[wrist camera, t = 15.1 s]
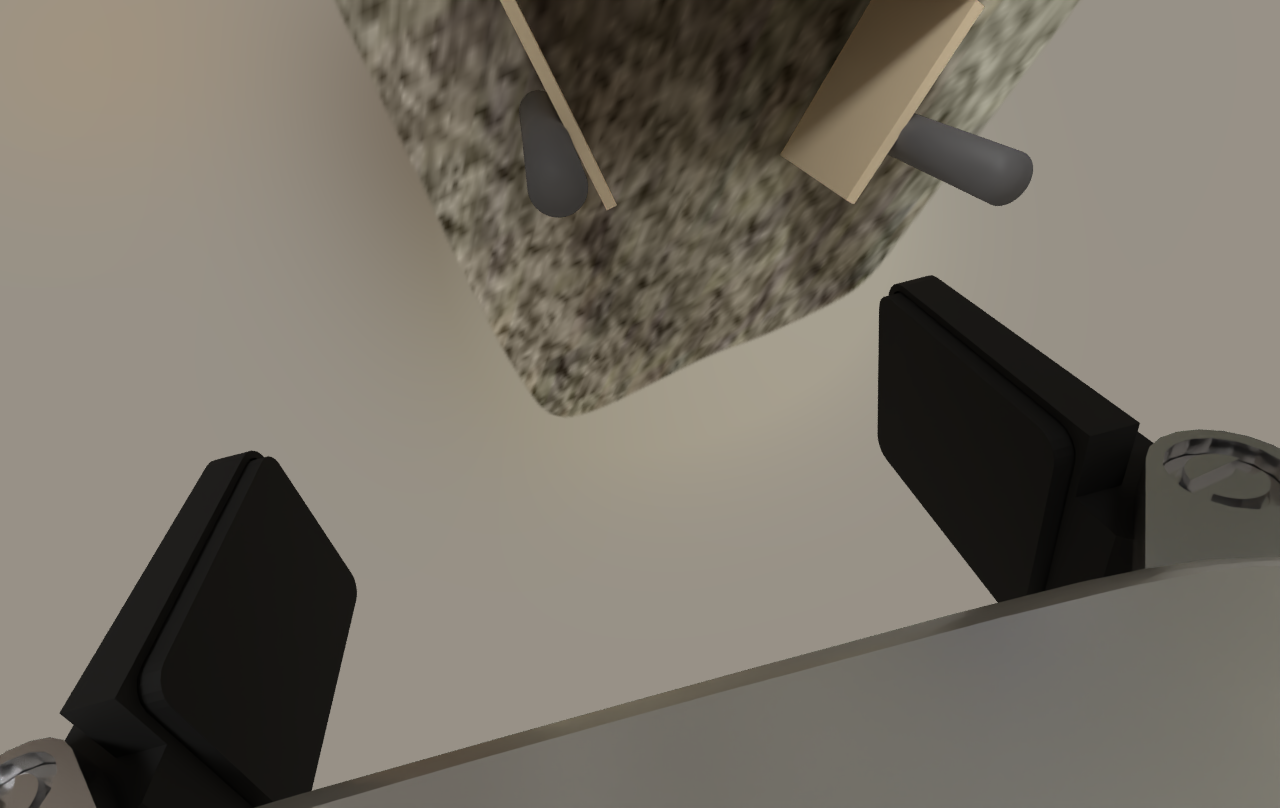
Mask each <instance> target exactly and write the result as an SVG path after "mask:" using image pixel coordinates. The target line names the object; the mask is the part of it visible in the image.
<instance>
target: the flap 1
mask: <svg viewBox="0 0 1280 808" xmlns="http://www.w3.org/2000/svg"><path fill="white" fill-rule="evenodd" d="M500 1H501V3H502V5H503V7H504V9H505V11H506V13H507V15H508V17H509V19H510V21H511V23H512V25H513V27H514V29H515V31H516V33H517V35H518V37H519V39H520V41H521V43H522V45H523V47H524V49H525V50H526V52H527V54H528V56H529V58H530V60H531V62H532V64H533V66H534V68H535V70H536V72H537V74H538V76H539V78H540V80H541V82H542V84H543V86H544V88H545V90H546V92H545V91H540V90H536V91H532V92H530V93H528V94H527V95H526V96H525V97H524V98H523V99H522V101H521V104H520V108H519V113H520V122H521V132H522V141H523V151H524V160H525V170H526V179H527V188H528V194H529V197H530V200H531V202H532V203H533V205H534V206H535V207H536V208H537V209H538V210H539V211H540V212H542V213H544V214H546V215H548V216H551V217H566V216H569V215H571V214H573V213H575V212H576V211H577V210H578V209H579V208H580V207H581V206H582V205H583V203H584V202H585V200H586V197H587V193H588V182H587V178H586V175H585V173H584V170H583V168H582V165H581V162H580V160H579V157H580V159H581V161H582V162H583V164H584V166H585V168H586V170H587V172H588V174H589V176H590V178H591V180H592V182H593V184H594V186H595V188H596V190H597V192H598V194H599V196H600V198H601V200H602V202H603V204H604V206H605V208H606V210H609V209H611V208H613V207H615V206H616V205H617V204H616V202H615V200H614V198H613V196H612V194H611V191H610V189H609V187H608V185H607V183H606V181H605V179H604V177H603V175H602V172H601V170H600V168H599V166H598V164H597V162H596V160H595V158H594V156H593V154H592V152H591V150H590V148H589V146H588V144H587V142H586V140H585V138H584V136H583V134H582V131H581V129H580V127H579V125H578V123H577V121H576V119H575V117H574V115H573V113H572V111H571V109H570V107H569V105H568V103H567V101H566V99H565V97H564V95H563V93H562V91H561V89H560V87H559V85H558V83H557V81H556V79H555V77H554V75H553V73H552V71H551V69H550V67H549V65H548V63H547V61H546V59H545V57H544V55H543V53H542V51H541V49H540V47H539V45H538V43H537V41H536V39H535V37H534V35H533V33H532V31H531V29H530V27H529V25H528V23H527V21H526V19H525V17H524V15H523V13H522V10H521V8H520V6H519V4H518V2H517V0H500ZM575 149H576V150H575ZM576 151H577V152H576ZM577 153H578V155H579V157H578V155H577Z"/></svg>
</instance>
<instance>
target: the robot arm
mask: <svg viewBox="0 0 1280 808" xmlns="http://www.w3.org/2000/svg"><path fill="white" fill-rule="evenodd" d="M878 366H879V367H878V368H879V369H878V441H879V445H880V448H881V451H882V453H883V455H884V456H885V457H886V459H887V461H888V462H889V463H890V464H891V466H892V467H893V468H894V470H895V471H896V472H897V473H898V475H899V476H900V477H901V479H902V480H903V481H904V482H905V484H906V485H907V486H908V487H909V489H910V490H911V491H912V493H913V494H914V495H915V496H916V498H917V499H918V500H919V502H920V503H921V504H922V506H923V507H924V508H925V509H926V511H927V512H928V513H929V515H930V516H931V517H932V518H933V520H934V521H935V522H936V524H937V525H938V526H939V527H940V529H941V530H942V531H943V532H944V534H945V535H946V536H947V538H948V539H949V540H950V542H951V543H952V544H953V545H954V547H955V548H956V549H957V551H958V552H959V553H960V554H961V556H962V557H963V558H964V560H965V561H966V562H967V563H968V565H969V566H970V567H971V568H972V570H973V571H974V572H975V574H976V575H977V576H978V577H979V579H980V580H981V582H982V583H983V584H984V585H985V587H986V588H987V589H988V590H989V592H990V593H991V594H992V595H993V597H994V598H995V599H996V601H997V602H998V603H995V604H992V605H988V606H984V607H980V608H976V609H972V610H968V611H964V612H960V613H956V614H952V615H948V616H945V617H941V618H937V619H934V620H930V621H926V622H923V623H919V624H915V625H912V626H908V627H904V628H900V629H896V630H893V631H889V632H886V633H881V634H878V635H874V636H870V637H867V638H863V639H859V640H856V641H852V642H849V643H845V644H841V645H837V646H833V647H830V648H826V649H822V650H818V651H815V652H811V653H807V654H804V655H800V656H797V657H793V658H789V659H785V660H782V661H778V662H774V663H770V664H767V665H763V666H759V667H756V668H752V669H748V670H745V671H741V672H738V673H734V674H730V675H726V676H723V677H719V678H716V679H712V680H708V681H705V682H701V683H697V684H694V685H690V686H686V687H683V688H679V689H675V690H672V691H668V692H664V693H661V694H657V695H654V696H650V697H646V698H643V699H639V700H635V701H632V702H628V703H624V704H621V705H617V706H614V707H610V708H607V709H603V710H599V711H595V712H592V713H589V714H585V715H581V716H577V717H574V718H570V719H567V720H563V721H560V722H556V723H552V724H548V725H546V726H541V727H538V728H534V729H530V730H527V731H523V732H520V733H516V734H512V735H509V736H505V737H502V738H498V739H495V740H491V741H487V742H484V743H480V744H477V745H473V746H470V747H466V748H463V749H459V750H455V751H452V752H448V753H445V754H441V755H438V756H434V757H430V758H427V759H423V760H420V761H416V762H413V763H409V764H406V765H402V766H399V767H395V768H391V769H388V770H385V771H381V772H377V773H374V774H370V775H366V776H363V777H360V778H356V779H353V780H349V781H345V782H342V783H338V784H335V785H331V786H327V787H324V788H320V789H317V790H314V791H312V787H313V782H314V777H315V773H316V769H317V765H318V760H319V757H320V752H321V748H322V744H323V739H324V735H325V730H326V726H327V722H328V718H329V714H330V709H331V705H332V701H333V696H334V692H335V688H336V684H337V680H338V675H339V671H340V667H341V662H342V658H343V653H344V650H345V645H346V641H347V637H348V633H349V628H350V624H351V619H352V615H353V611H354V607H355V603H356V597H357V589H356V583H355V580H354V577H353V575H352V574H351V572H350V571H349V569H348V568H347V566H346V564H345V563H344V562H343V560H342V558H341V557H340V556H339V554H338V552H337V551H336V549H335V548H334V546H333V545H332V543H331V542H330V540H329V539H328V537H327V536H326V534H325V533H324V531H323V530H322V528H321V527H320V525H319V524H318V522H317V521H316V519H315V517H314V516H313V515H312V513H311V511H310V510H309V508H308V507H307V505H306V504H305V502H304V501H303V499H302V498H301V496H300V495H299V493H298V492H297V490H296V489H295V487H294V486H293V484H292V483H291V481H290V480H289V478H288V477H287V475H286V474H285V472H284V471H283V469H282V468H281V466H280V464H279V463H278V462H277V461H276V460H275V459H274V458H272V457H263V456H262V455H261V454H260V453H258V452H256V451H248V452H245V453H241V454H237V455H233V456H229V457H225V458H221V459H218V460H214V461H211V462H210V463H209V464H208V465H207V467H206V468H205V470H204V472H203V473H202V475H201V477H200V478H199V480H198V482H197V483H196V485H195V487H194V489H193V490H192V492H191V494H190V495H189V497H188V498H187V500H186V502H185V504H184V505H183V507H182V508H181V510H180V512H179V514H178V515H177V517H176V519H175V520H174V522H173V524H172V525H171V527H170V529H169V530H168V532H167V534H166V535H165V537H164V539H163V540H162V542H161V544H160V545H159V547H158V549H157V550H156V552H155V554H154V555H153V557H152V559H151V561H150V562H149V564H148V566H147V567H146V569H145V571H144V572H143V574H142V576H141V577H140V579H139V581H138V582H137V584H136V586H135V587H134V589H133V591H132V592H131V594H130V596H129V597H128V599H127V601H126V603H125V604H124V606H123V607H122V609H121V611H120V613H119V614H118V616H117V618H116V619H115V621H114V623H113V624H112V626H111V628H110V630H109V631H108V633H107V634H106V636H105V638H104V639H103V641H102V643H101V645H100V646H99V648H98V649H97V651H96V653H95V655H94V656H93V658H92V660H91V661H90V663H89V665H88V666H87V668H86V670H85V671H84V673H83V675H82V676H81V678H80V680H79V681H78V683H77V685H76V686H75V688H74V690H73V691H72V693H71V695H70V696H69V698H68V700H67V701H66V703H65V705H64V706H63V708H62V710H61V712H60V714H61V715H62V716H64V717H65V718H66V719H67V720H69V721H70V722H71V723H72V724H74V726H73V727H72V729H71V731H70V733H69V734H68V736H67V738H66V740H65V741H64V740H61V739H56V738H50V737H49V738H43V739H38V740H33V741H29V742H27V743H24V744H22V745H20V746H18V747H15V748H13V749H11V750H8V751H6V752H5V753H3V754H2V755H0V808H1280V448H1277V447H1276V446H1274V445H1271V444H1269V443H1266V442H1263V441H1260V440H1258V439H1255V438H1252V437H1249V436H1245V435H1240V434H1235V433H1230V432H1225V431H1214V430H1190V431H1181V432H1175V433H1172V434H1169V435H1167V436H1164V437H1161V438H1159V439H1158V440H1157V441H1156V442H1155V443H1153V442H1151V441H1150V440H1148V439H1147V438H1146V437H1144V436H1143V435H1142V434H1140V433H1139V432H1138V428H1139V424H1140V423H1139V422H1138V421H1136V420H1135V419H1134V418H1132V417H1131V416H1129V415H1128V414H1127V413H1125V412H1124V411H1122V410H1121V409H1120V408H1118V407H1117V406H1115V405H1114V404H1113V403H1111V402H1110V401H1109V400H1107V399H1106V398H1104V397H1103V396H1102V395H1100V394H1099V393H1097V392H1096V391H1095V390H1093V389H1092V388H1090V387H1089V386H1088V385H1086V384H1085V383H1083V382H1082V381H1080V380H1079V379H1078V378H1076V377H1075V376H1073V375H1072V374H1071V373H1069V372H1068V371H1067V370H1065V369H1064V368H1062V367H1061V366H1060V365H1058V364H1057V363H1055V362H1054V361H1053V360H1051V359H1050V358H1049V357H1047V356H1046V355H1044V354H1043V353H1042V352H1040V351H1039V350H1037V349H1036V348H1035V347H1033V346H1032V345H1030V344H1029V343H1028V342H1026V341H1025V340H1023V339H1022V338H1021V337H1019V336H1018V335H1016V334H1015V333H1014V332H1012V331H1011V330H1009V329H1008V328H1007V327H1005V326H1004V325H1002V324H1001V323H1000V322H998V321H997V320H995V319H994V318H993V317H991V316H990V315H989V314H987V313H986V312H984V311H983V310H982V309H980V308H979V307H977V306H976V305H975V304H973V303H972V302H970V301H969V300H968V299H966V298H965V297H963V296H962V295H960V294H959V293H958V292H956V291H955V290H953V289H952V288H951V287H949V286H948V285H946V284H945V283H944V282H942V281H941V280H939V279H938V278H937V277H935V276H932V275H931V276H925V277H922V278H918V279H914V280H910V281H906V282H903V283H899V284H894V285H893V286H892V287H891V289H890V292H889V296H886V297H883V298H882V299H881V301H880V307H879V364H878Z"/></svg>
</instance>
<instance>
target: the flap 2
mask: <svg viewBox="0 0 1280 808" xmlns="http://www.w3.org/2000/svg"><path fill="white" fill-rule="evenodd" d="M984 7H985V6H984V5H982V4H981V3H980V2H979V1H977V0H871V1H870V3H869V5H868V6H867V8H866V10H865V11H864V13H863V15H862V16H861V18H860V20H859V22H858V23H857V25H856V27H855V28H854V30H853V32H852V33H851V35H850V37H849V39H848V40H847V42H846V44H845V45H844V47H843V49H842V50H841V52H840V54H839V56H838V57H837V59H836V61H835V62H834V64H833V66H832V67H831V69H830V71H829V73H828V74H827V76H826V78H825V79H824V81H823V83H822V84H821V86H820V88H819V89H818V91H817V93H816V95H815V96H814V98H813V100H812V101H811V103H810V105H809V106H808V108H807V110H806V112H805V113H804V115H803V117H802V118H801V120H800V122H799V123H798V125H797V127H796V129H795V130H794V132H793V134H792V135H791V137H790V139H789V140H788V142H787V144H786V146H785V147H784V149H783V151H782V152H781V154H780V155H781V156H782V157H784V158H785V159H787V160H788V161H789V162H791V163H792V164H794V165H795V166H797V167H798V168H800V169H801V170H803V171H804V172H806V173H807V174H809V175H810V176H811V177H813V178H814V179H816V180H817V181H819V182H820V183H822V184H823V185H825V186H826V187H828V188H829V189H831V190H832V191H834V192H835V193H836V194H838V195H839V196H841V197H842V198H844V199H845V200H847V201H849V202H850V203H852V204H855V202H856V201H857V199H858V198H859V196H860V195H861V193H862V192H863V190H864V189H865V187H866V186H867V184H868V182H869V181H870V179H871V178H872V176H873V175H874V173H875V172H876V170H877V169H878V167H879V166H880V164H881V163H882V161H883V160H884V158H885V157H886V155H887V154H888V155H890V156H892V157H894V158H896V159H899V160H901V161H903V162H905V163H907V164H909V165H911V166H913V167H915V168H917V169H919V170H921V171H923V172H925V173H927V174H929V175H931V176H933V177H935V178H938V179H940V180H942V181H944V182H946V183H948V184H950V185H952V186H954V187H956V188H958V189H960V190H962V191H964V192H966V193H969V194H970V195H972V196H975V197H976V198H979V199H981V200H983V201H985V202H987V203H989V204H991V205H995V206H1002V205H1006V204H1008V203H1011V202H1012V201H1014V200H1016V199H1017V198H1018V197H1019V196H1020V195H1021V194H1022V193H1023V192H1024V191H1025V189H1026V188H1027V186H1028V185H1029V183H1030V180H1031V177H1032V174H1033V164H1032V160H1031V159H1030V157H1029V156H1028V155H1027V154H1026V153H1024V152H1022V151H1019V150H1016V149H1013V148H1010V147H1008V146H1005V145H1002V144H999V143H997V142H993V141H991V140H988V139H985V138H982V137H980V136H977V135H974V134H971V133H968V132H966V131H963V130H960V129H957V128H954V127H952V126H949V125H946V124H943V123H940V122H938V121H935V120H932V119H929V118H926V117H923V116H921V115H918V114H915V111H916V110H917V108H918V107H919V105H920V104H921V102H922V101H923V99H924V98H925V96H926V95H927V93H928V92H929V90H930V89H931V87H932V86H933V84H934V82H935V81H936V79H937V78H938V76H939V75H940V73H941V72H942V70H943V69H944V67H945V66H946V64H947V63H948V61H949V60H950V58H951V57H952V55H953V54H954V52H955V51H956V49H957V48H958V46H959V45H960V43H961V42H962V40H963V39H964V37H965V36H966V34H967V32H968V31H969V29H970V28H971V26H972V25H973V23H974V22H975V20H976V19H977V17H978V16H979V14H980V13H981V11H982V10H983V8H984Z"/></svg>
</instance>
